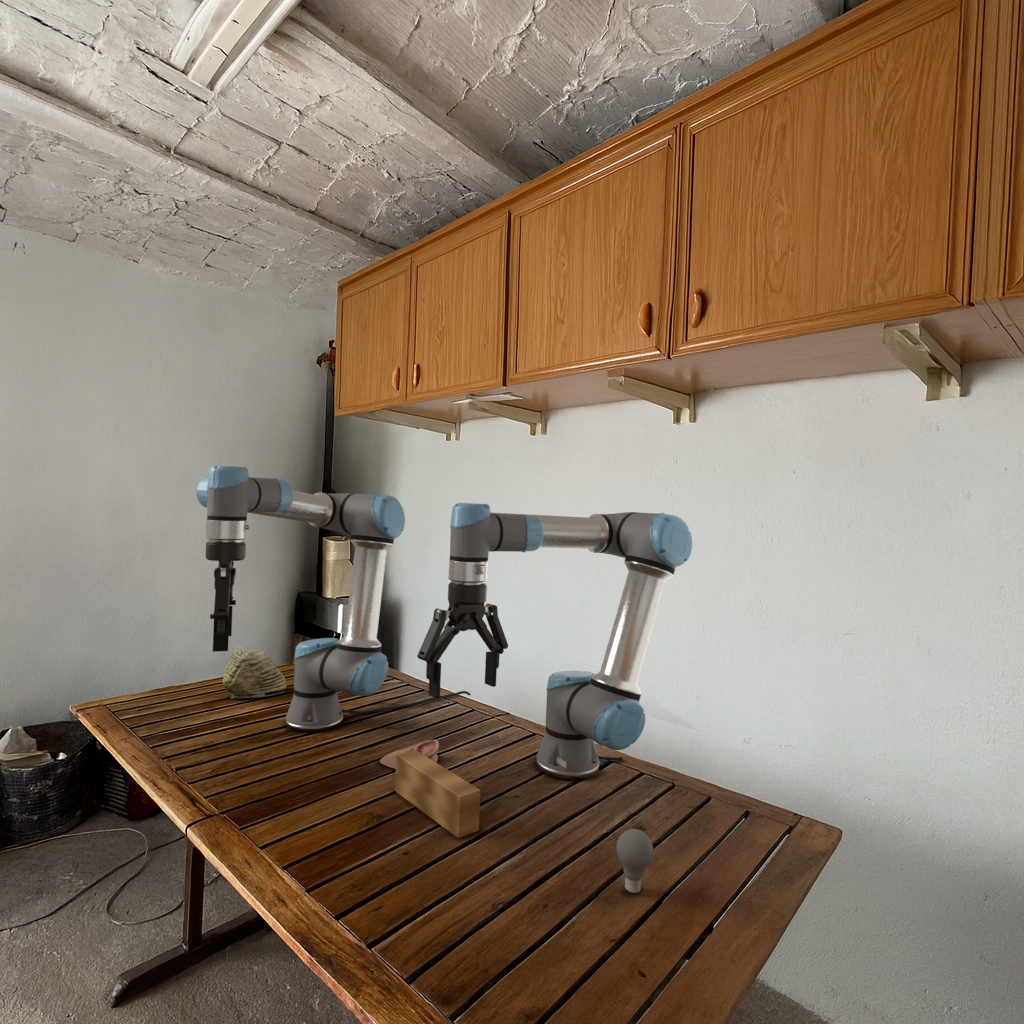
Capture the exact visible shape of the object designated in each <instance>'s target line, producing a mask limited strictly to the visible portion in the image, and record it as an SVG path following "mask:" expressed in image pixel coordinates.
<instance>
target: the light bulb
mask: <svg viewBox="0 0 1024 1024" xmlns="http://www.w3.org/2000/svg"><path fill="white" fill-rule="evenodd" d="M615 849H616V854H617V857H618V859H619V861H620V863H621V865H622V867H623V873H624V874H623V875H624V876H625V878H624V888H625V890H627V891H628V892H630V893H634V894H635V893H639V892H640V891H641V889H642V887H641V886H642V879H643V877H644V875H645V871H646V868H647V867H648V866H649V864H650V863H651V861H652V859H653V855H654V847H653V843H652V841H651V838H649V836H648V835H647V834H646V833H645V832H643V831H642V830H641V829H636V828H629V829H627V830H625V831H623V832H622V833H621V834H620V835H619V837H618V839H617V841H616V847H615Z"/></svg>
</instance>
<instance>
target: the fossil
mask: <svg viewBox="0 0 1024 1024" xmlns="http://www.w3.org/2000/svg"><path fill="white" fill-rule="evenodd" d="M222 676H223V677H222V685H223V687H224V688H225V690H226V691H228V693H229V698H230V699H250V698H264V697H271V696H275V695H281V694H284V693H285V691H286V689H287V687H288V686H287V680H286V678H285V676H284V674H283V673H282V672H281V669H279V668H278V667H277V665H276V663H275V662H274V660H273V659H272V658H271V657H270V656H269V655H268V654H267V653H266V652H265V650H264V649H263V648H260V647H258V648H251V647H247V646H246V647H245V646H238V647H237V648H236V649H235V650H233V651H232V653H231V656H230V657H229V659H228V660H227V663H226V666H225V668H224V671H223V675H222Z"/></svg>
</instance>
